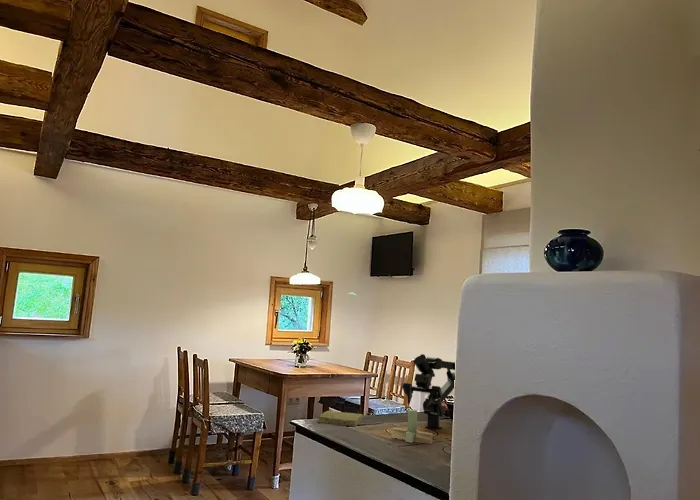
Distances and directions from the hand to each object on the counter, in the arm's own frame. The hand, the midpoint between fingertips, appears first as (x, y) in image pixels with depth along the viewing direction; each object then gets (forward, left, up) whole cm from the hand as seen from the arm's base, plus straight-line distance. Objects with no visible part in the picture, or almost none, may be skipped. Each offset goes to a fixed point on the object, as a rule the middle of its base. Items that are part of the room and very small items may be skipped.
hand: (417, 404), depth 249 cm
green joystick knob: (+11, +5, -14) cm, 18 cm away
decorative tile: (+7, -42, -14) cm, 45 cm away
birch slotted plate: (+11, +5, -14) cm, 18 cm away
